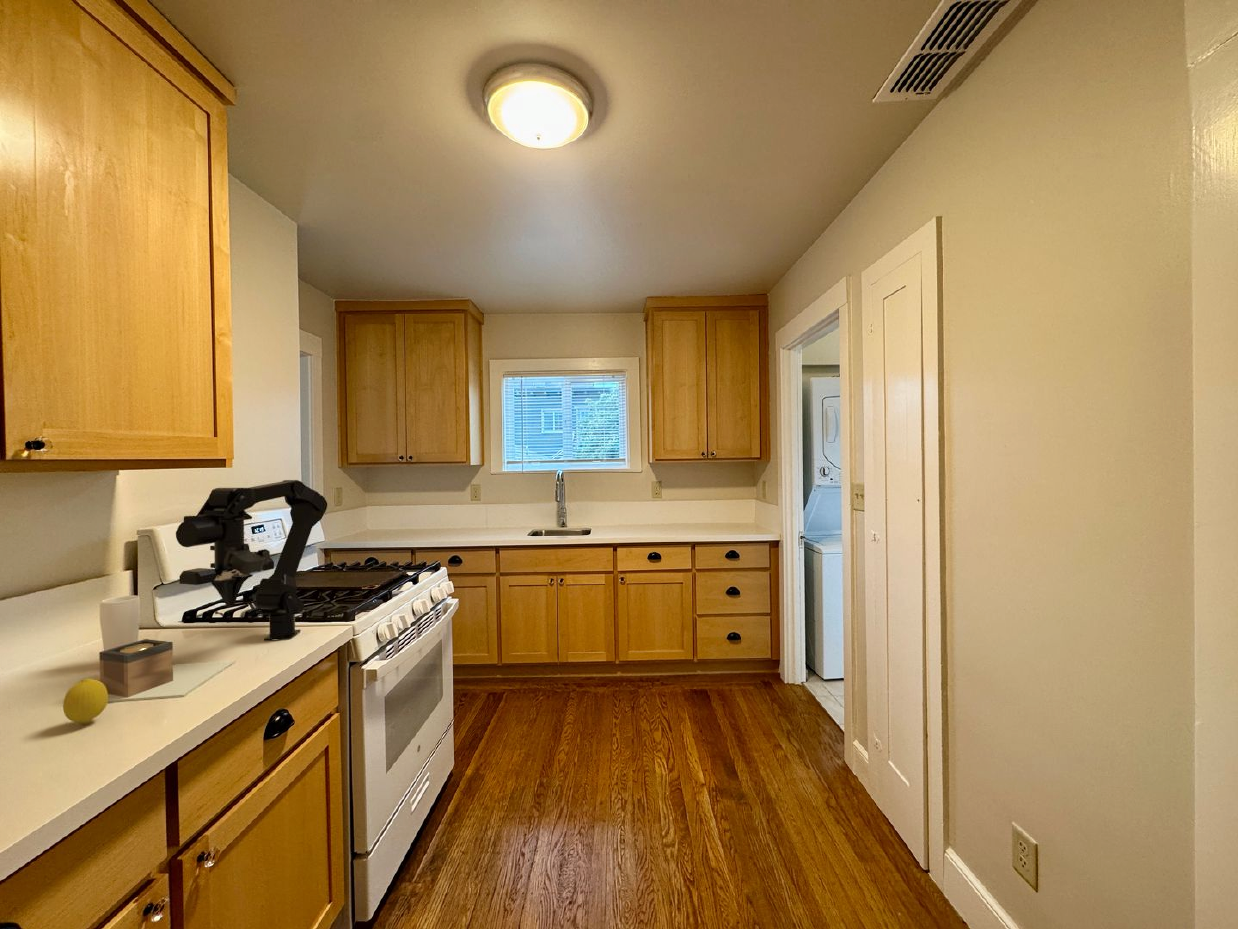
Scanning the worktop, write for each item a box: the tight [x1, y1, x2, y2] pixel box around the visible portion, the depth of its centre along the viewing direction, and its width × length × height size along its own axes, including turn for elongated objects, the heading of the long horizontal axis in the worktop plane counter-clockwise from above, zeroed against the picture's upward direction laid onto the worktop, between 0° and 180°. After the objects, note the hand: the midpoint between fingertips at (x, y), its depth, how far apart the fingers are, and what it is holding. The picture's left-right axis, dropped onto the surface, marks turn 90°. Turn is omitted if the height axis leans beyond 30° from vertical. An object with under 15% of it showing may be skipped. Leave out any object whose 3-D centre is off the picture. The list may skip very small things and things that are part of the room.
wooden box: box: [98, 638, 174, 697], centre depth 107 cm, size 8×8×8 cm
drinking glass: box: [99, 594, 141, 651], centre depth 121 cm, size 7×7×15 cm
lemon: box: [62, 678, 108, 725], centre depth 93 cm, size 6×6×8 cm
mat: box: [107, 660, 236, 703], centre depth 111 cm, size 18×18×1 cm
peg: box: [120, 643, 153, 653], centre depth 107 cm, size 5×5×8 cm
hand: (230, 606), depth 124 cm, fingers closed
